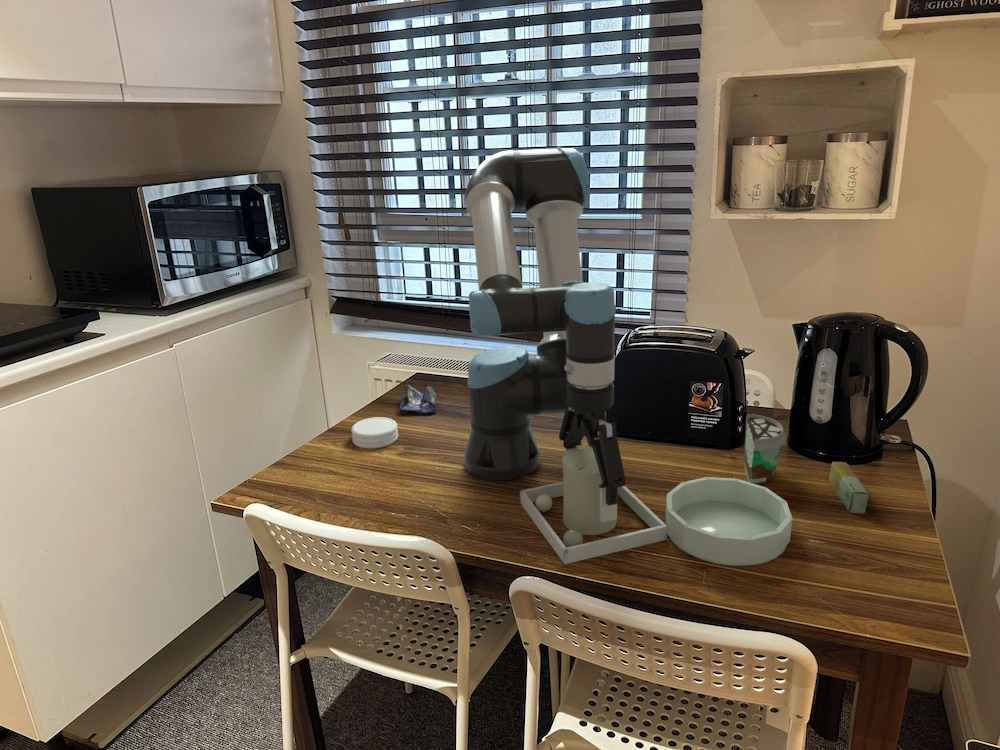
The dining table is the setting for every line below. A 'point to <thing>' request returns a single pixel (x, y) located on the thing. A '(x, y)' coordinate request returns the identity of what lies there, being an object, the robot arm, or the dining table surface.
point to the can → (583, 493)
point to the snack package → (418, 400)
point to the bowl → (728, 521)
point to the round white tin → (374, 432)
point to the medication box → (848, 487)
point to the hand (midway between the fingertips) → (590, 500)
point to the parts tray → (600, 546)
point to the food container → (762, 448)
